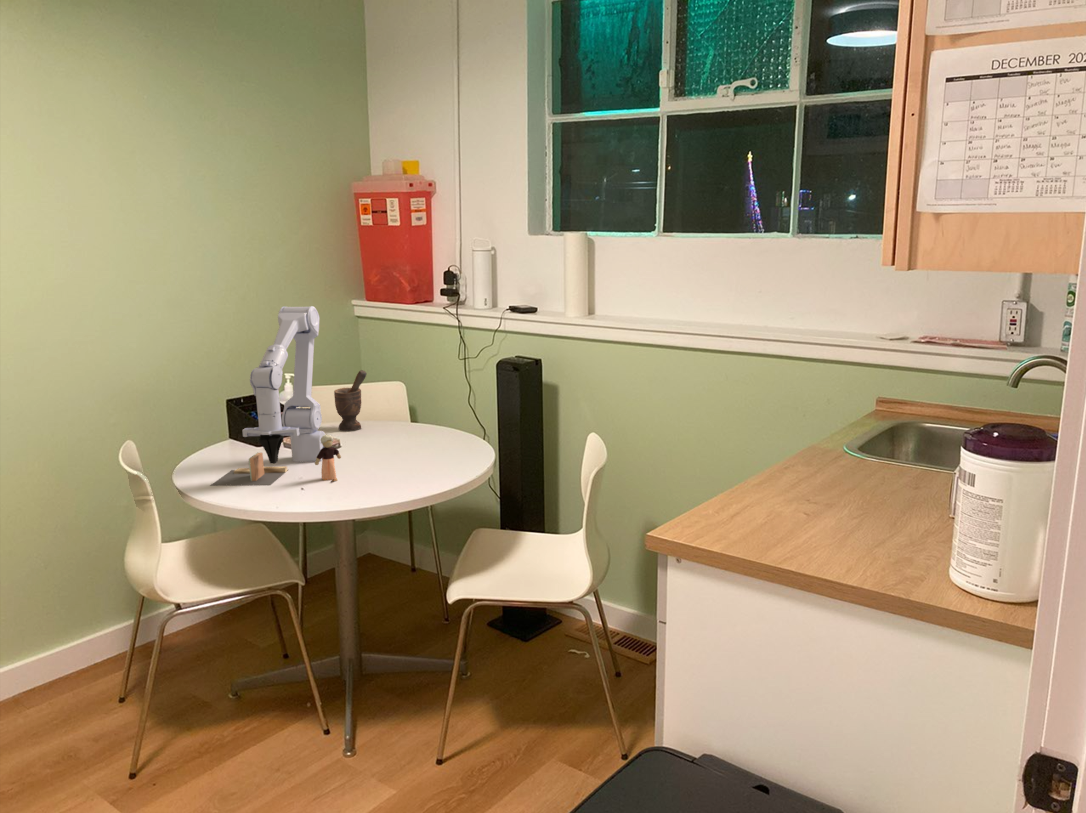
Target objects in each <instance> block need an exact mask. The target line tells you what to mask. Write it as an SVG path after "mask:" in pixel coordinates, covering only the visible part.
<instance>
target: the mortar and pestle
mask: <svg viewBox="0 0 1086 813" xmlns="http://www.w3.org/2000/svg"><path fill="white" fill-rule="evenodd" d="M366 378H367V372H366V371H365V370H362V369H361V370H359V371H358V372H357V374H356V376H355V379H354V382H353V384H352V386H351V387H341V388H337V389H335V390H334V391H333V394H334V395H333V396H334V405H335V409H336V413H337V414H338V416H340V417H341V419H342V420H341V422H340V423H339V425H338V430H339V431H341V432H349V431H358V430H360V429H362V425H361V423H360V422H359V421H358V420H357V416H359V414H360V412H361V408H362V389H361V388H360V386H361V385H362V384H363V382H364V381H365V380H366Z"/></svg>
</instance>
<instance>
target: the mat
mask: <svg viewBox="0 0 1086 813" xmlns="http://www.w3.org/2000/svg"><path fill="white" fill-rule="evenodd" d="M235 470H236V469H231V470H230V471H228V472H227V473H226V474H224V475H223V476H221V477H220V478H218V479H217V480H216V481H214V482H213V483H211V484H210V485H209V486H210V487H219V486H222V487H225V486H226V487H227V486H230V487H231V486H232V487H233V486H235V487H237V486H239V487H240V486H241V487H242V486H243V487H245V486H253V487H254V486H256V487H257V486H271V485H273V484H274V483H275V482H276V481H277V480H279V478H282V477H283V475H285V474H286V473H287V472H272V473H264V475H263V476H261V477H260V478H259V479H258V480H256V481H251V478H250V473H238V474H234V471H235Z"/></svg>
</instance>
